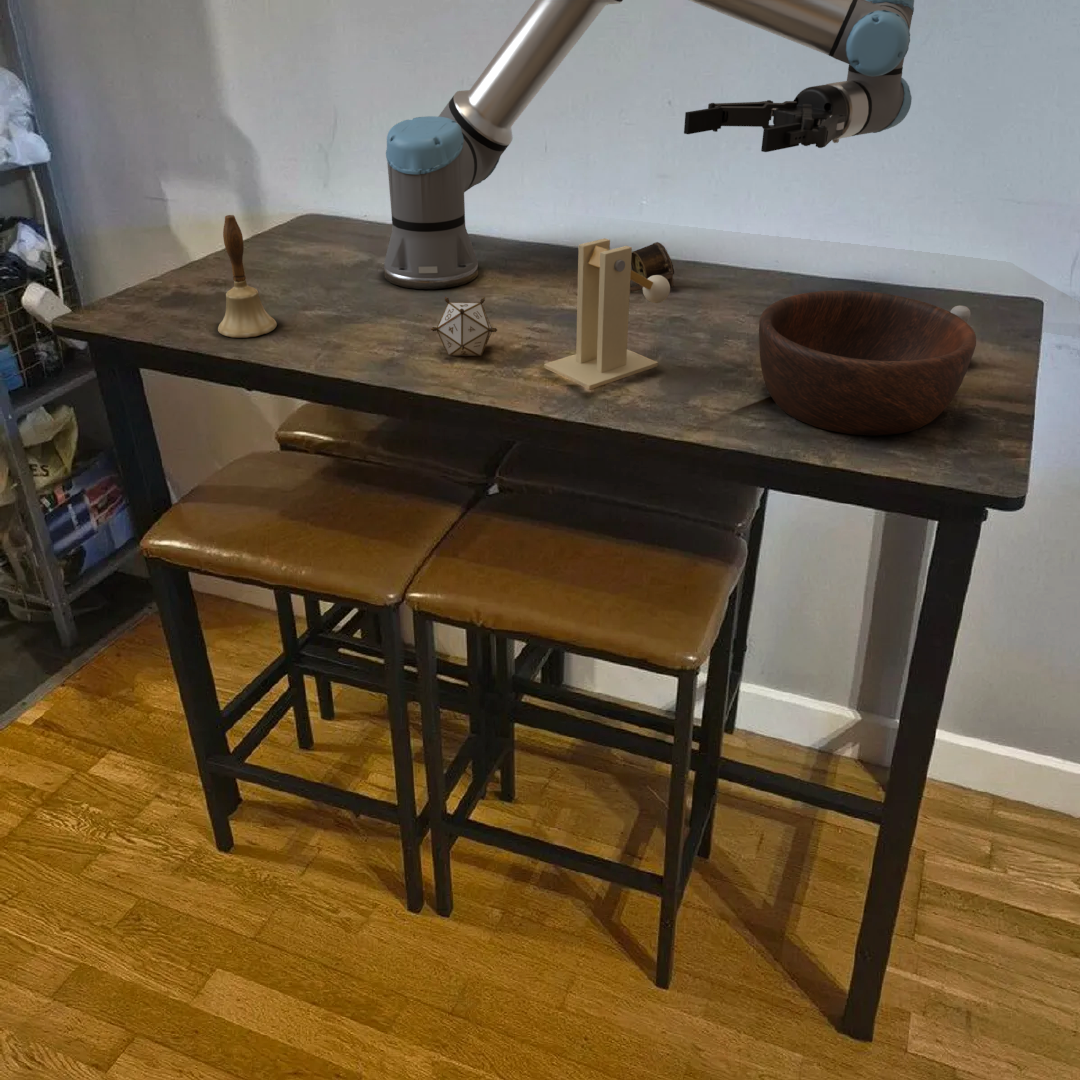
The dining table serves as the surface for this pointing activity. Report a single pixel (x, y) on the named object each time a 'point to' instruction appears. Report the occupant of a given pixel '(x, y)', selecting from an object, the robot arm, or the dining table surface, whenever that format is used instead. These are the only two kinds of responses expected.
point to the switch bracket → (602, 321)
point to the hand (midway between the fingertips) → (724, 131)
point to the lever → (640, 280)
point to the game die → (464, 328)
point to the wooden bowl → (863, 360)
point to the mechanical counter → (652, 263)
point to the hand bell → (241, 293)
